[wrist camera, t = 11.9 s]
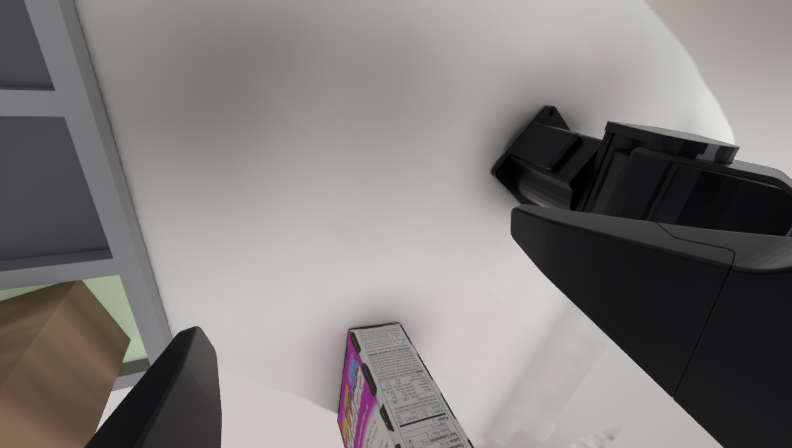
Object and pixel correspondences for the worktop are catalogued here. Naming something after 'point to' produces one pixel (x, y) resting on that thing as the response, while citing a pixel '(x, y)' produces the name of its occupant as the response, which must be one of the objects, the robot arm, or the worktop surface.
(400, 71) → the worktop surface
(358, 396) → the candy bar box
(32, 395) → the walnut block
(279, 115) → the worktop surface
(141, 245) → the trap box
